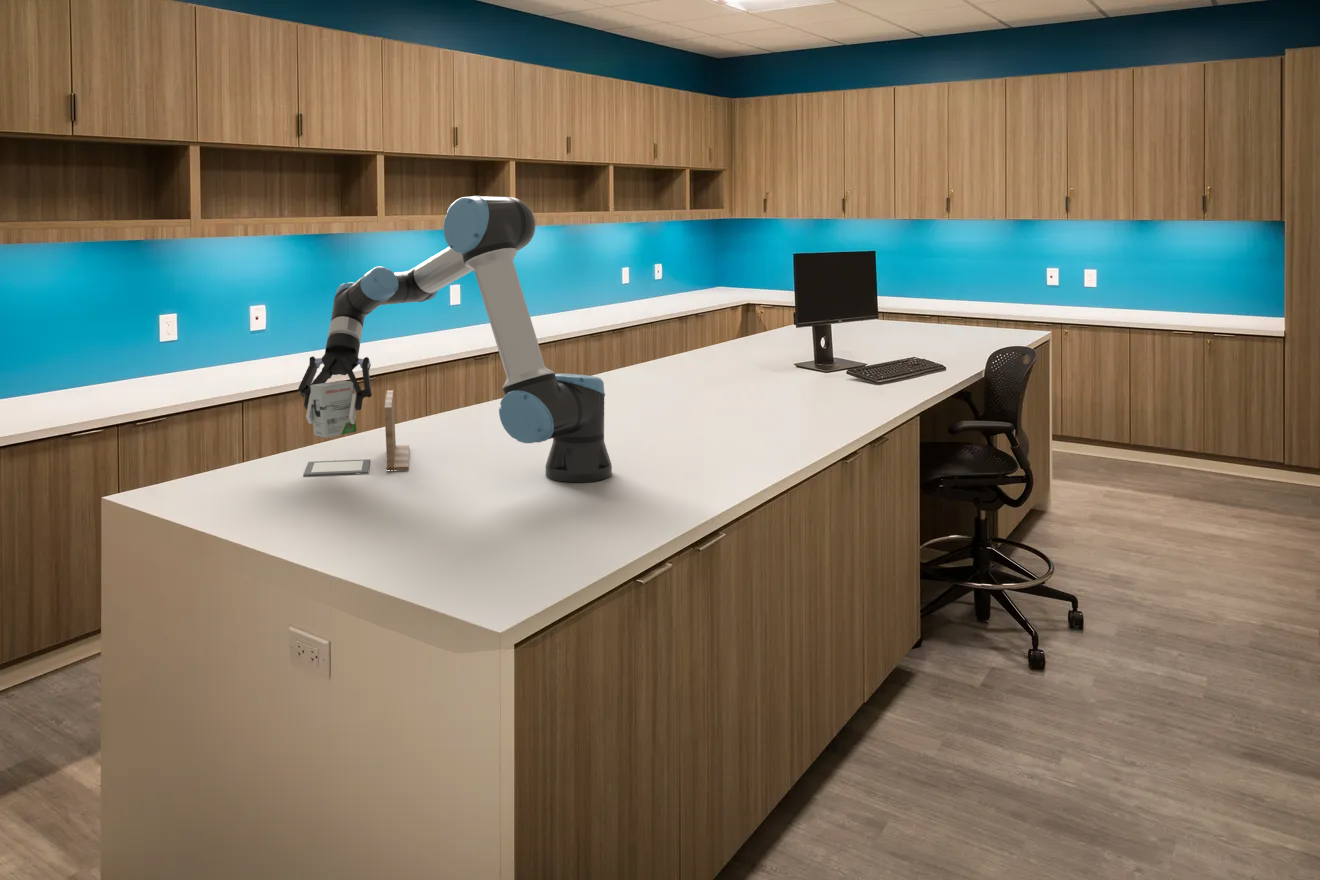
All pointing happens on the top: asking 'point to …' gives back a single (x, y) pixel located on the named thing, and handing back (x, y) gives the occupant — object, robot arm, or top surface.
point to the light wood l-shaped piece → (395, 453)
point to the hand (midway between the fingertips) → (330, 420)
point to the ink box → (332, 408)
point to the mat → (337, 467)
